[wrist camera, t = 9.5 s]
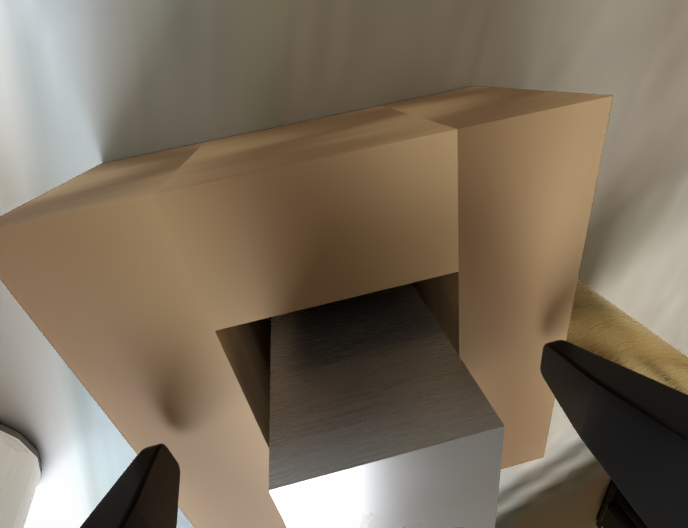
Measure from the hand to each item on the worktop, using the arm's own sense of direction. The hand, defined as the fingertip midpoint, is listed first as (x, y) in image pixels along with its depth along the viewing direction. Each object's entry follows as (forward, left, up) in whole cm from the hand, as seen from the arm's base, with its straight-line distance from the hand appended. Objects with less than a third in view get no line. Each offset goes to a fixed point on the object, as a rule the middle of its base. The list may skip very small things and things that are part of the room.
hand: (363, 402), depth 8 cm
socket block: (0, 0, -6) cm, 6 cm away
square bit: (0, 0, -6) cm, 6 cm away
